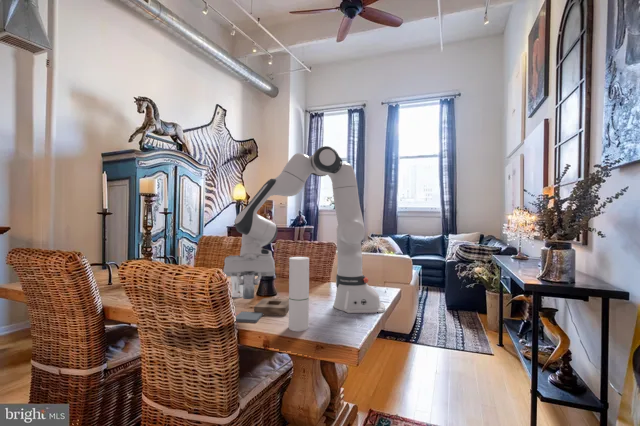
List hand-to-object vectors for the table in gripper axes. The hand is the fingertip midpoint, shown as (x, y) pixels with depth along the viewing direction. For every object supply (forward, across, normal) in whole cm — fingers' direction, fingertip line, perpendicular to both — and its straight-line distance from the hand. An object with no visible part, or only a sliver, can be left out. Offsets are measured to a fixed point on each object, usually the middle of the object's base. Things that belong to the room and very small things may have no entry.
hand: (248, 284), depth 121 cm
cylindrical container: (+18, +19, +1) cm, 26 cm away
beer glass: (-14, -7, +34) cm, 37 cm away
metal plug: (+3, 0, +4) cm, 5 cm away
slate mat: (+9, 0, +10) cm, 13 cm away
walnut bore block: (+2, +10, +16) cm, 19 cm away
